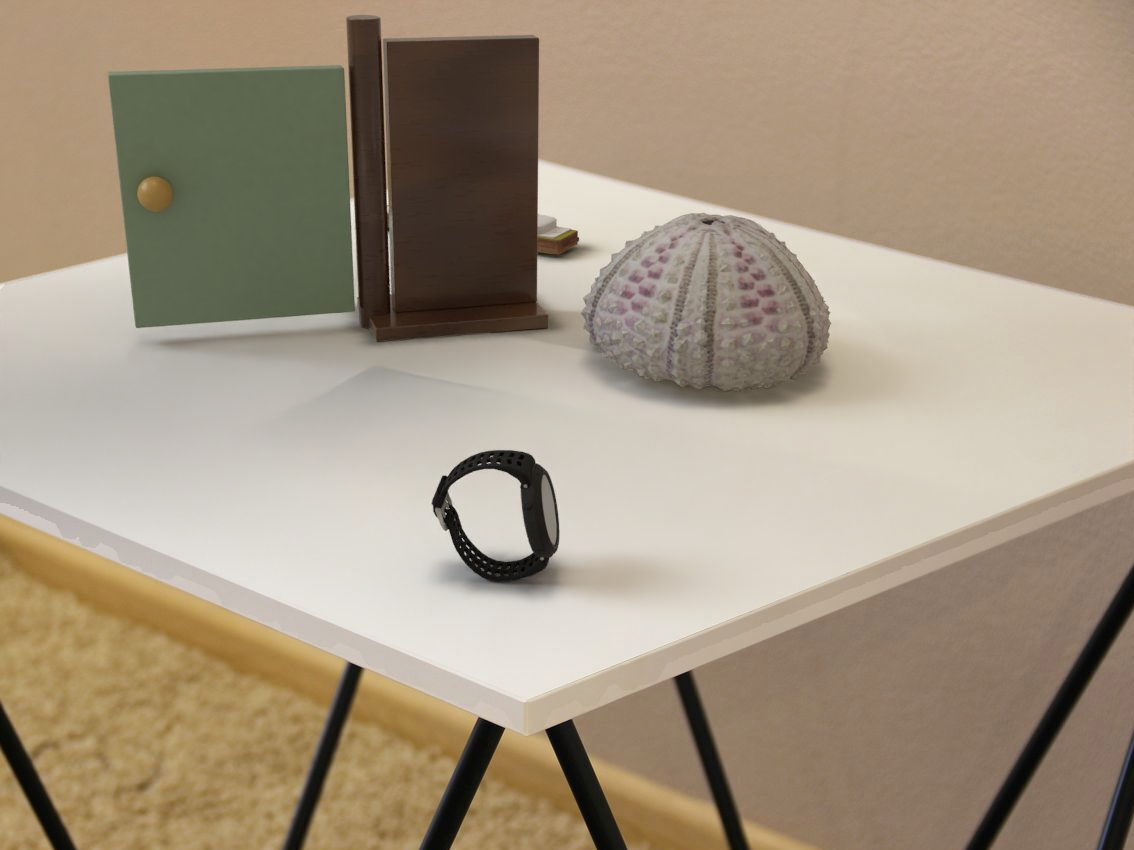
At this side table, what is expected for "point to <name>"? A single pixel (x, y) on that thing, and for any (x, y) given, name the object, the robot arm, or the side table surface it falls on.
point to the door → (234, 192)
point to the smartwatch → (535, 509)
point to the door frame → (445, 182)
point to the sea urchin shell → (708, 306)
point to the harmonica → (549, 235)
